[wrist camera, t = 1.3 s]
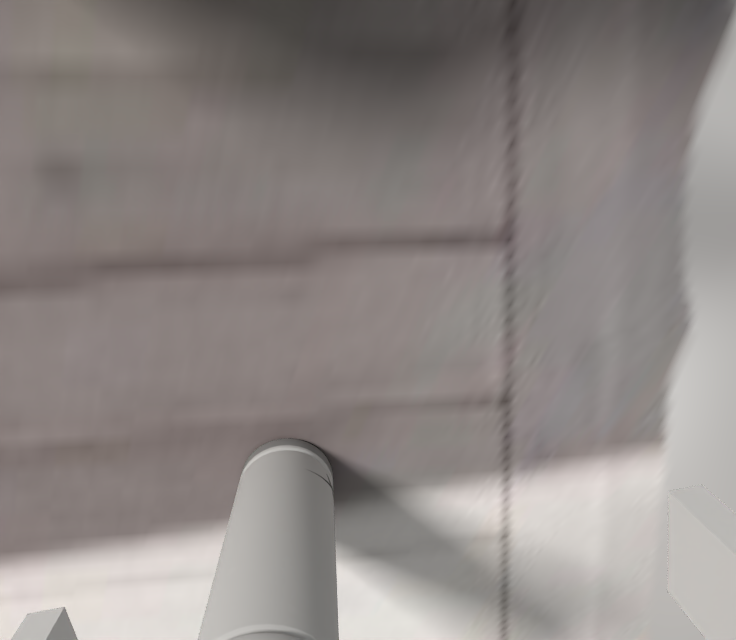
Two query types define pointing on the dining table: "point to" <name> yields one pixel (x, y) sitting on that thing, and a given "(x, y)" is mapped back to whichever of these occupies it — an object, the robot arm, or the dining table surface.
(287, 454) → the travel mug
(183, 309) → the dining table surface
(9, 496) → the dining table surface
